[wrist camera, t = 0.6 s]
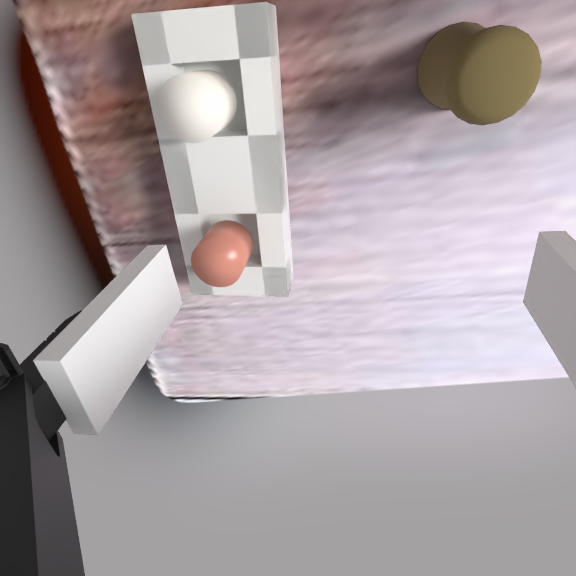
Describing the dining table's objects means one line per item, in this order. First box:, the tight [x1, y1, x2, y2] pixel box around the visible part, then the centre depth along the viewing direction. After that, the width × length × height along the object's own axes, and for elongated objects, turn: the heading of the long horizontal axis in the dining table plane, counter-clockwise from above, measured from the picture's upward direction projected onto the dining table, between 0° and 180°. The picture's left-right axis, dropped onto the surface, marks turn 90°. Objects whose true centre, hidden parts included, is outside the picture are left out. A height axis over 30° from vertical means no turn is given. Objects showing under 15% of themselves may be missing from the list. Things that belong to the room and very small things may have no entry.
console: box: [131, 2, 293, 297], centre depth 37 cm, size 24×10×4 cm, turn 3°
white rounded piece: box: [159, 69, 237, 143], centre depth 30 cm, size 4×4×4 cm
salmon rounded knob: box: [191, 220, 253, 287], centre depth 36 cm, size 4×4×4 cm
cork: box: [417, 22, 541, 125], centre depth 27 cm, size 6×6×11 cm
